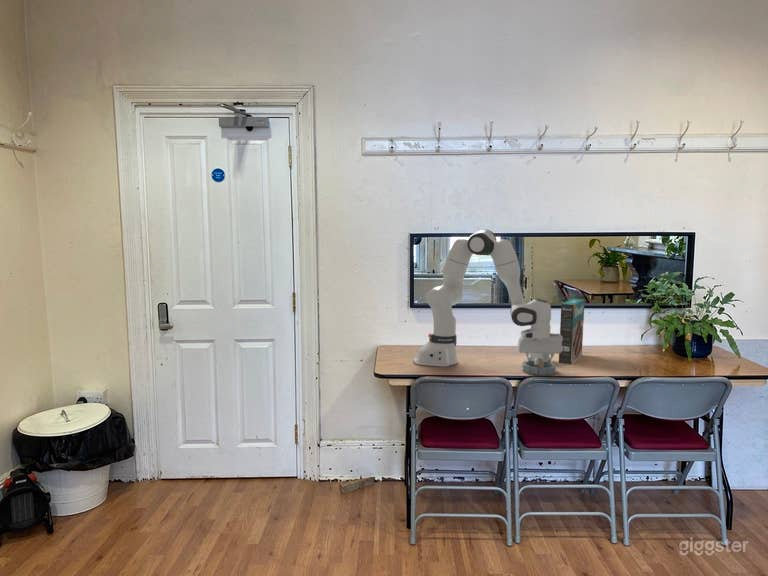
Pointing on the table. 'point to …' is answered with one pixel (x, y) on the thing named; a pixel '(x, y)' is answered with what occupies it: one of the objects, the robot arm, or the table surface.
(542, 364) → the wooden bead
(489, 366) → the table surface
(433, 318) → the robot arm
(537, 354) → the supplement box
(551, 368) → the round dish
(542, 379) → the table surface
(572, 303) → the cake mix box
